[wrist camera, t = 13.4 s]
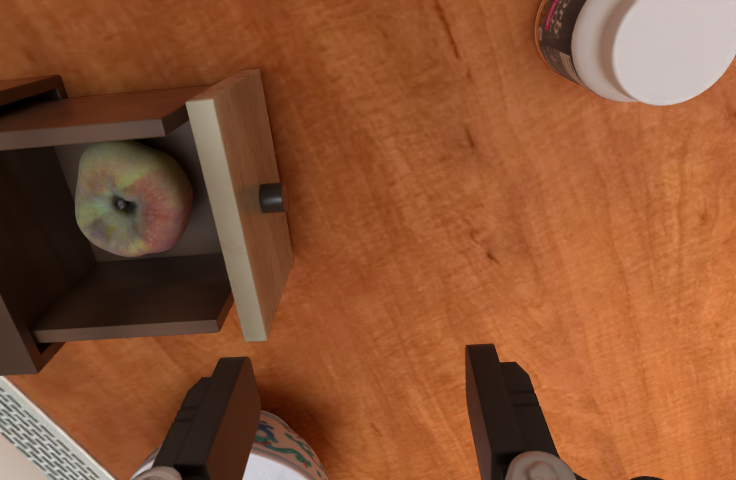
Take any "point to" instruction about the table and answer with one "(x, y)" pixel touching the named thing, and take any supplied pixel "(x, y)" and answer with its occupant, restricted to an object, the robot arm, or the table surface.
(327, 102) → the table surface
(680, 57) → the pill bottle
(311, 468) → the chinaware
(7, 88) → the cabinet
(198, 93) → the drawer
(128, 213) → the apple
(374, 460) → the table surface
